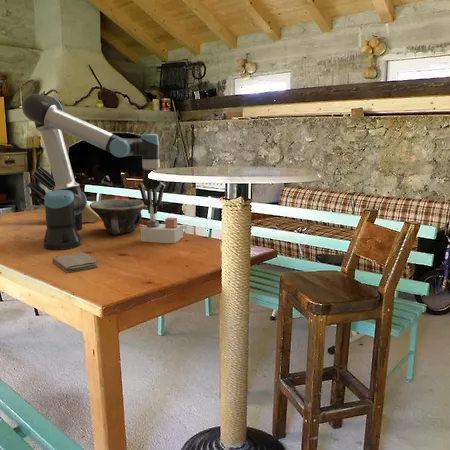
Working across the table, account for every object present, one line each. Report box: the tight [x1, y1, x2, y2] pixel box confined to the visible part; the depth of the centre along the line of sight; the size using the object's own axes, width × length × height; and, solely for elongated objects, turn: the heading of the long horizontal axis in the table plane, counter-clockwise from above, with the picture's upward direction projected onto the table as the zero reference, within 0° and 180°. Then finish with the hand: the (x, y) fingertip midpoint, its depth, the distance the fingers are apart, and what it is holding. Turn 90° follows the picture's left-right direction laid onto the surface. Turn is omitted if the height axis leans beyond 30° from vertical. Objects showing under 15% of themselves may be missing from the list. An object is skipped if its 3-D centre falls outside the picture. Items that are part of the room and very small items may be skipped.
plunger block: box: [140, 223, 184, 244], centre depth 206 cm, size 12×16×6 cm
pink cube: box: [164, 217, 178, 229], centre depth 204 cm, size 4×4×4 cm
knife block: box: [26, 166, 100, 224], centre depth 243 cm, size 11×35×31 cm, turn 106°
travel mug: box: [75, 212, 83, 232], centre depth 226 cm, size 8×8×20 cm
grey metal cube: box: [146, 219, 160, 228], centre depth 206 cm, size 4×4×4 cm
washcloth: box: [51, 252, 98, 273], centre depth 166 cm, size 12×18×3 cm, turn 38°
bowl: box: [89, 198, 147, 235], centre depth 220 cm, size 27×26×15 cm
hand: (153, 220), depth 206 cm, fingers closed
